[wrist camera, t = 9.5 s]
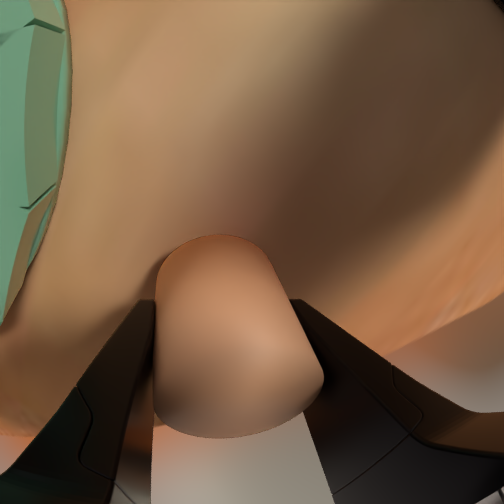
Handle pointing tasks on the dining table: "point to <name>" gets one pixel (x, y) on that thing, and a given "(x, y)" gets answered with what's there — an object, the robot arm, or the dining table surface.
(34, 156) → the ring tray
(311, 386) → the bead
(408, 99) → the dining table surface
